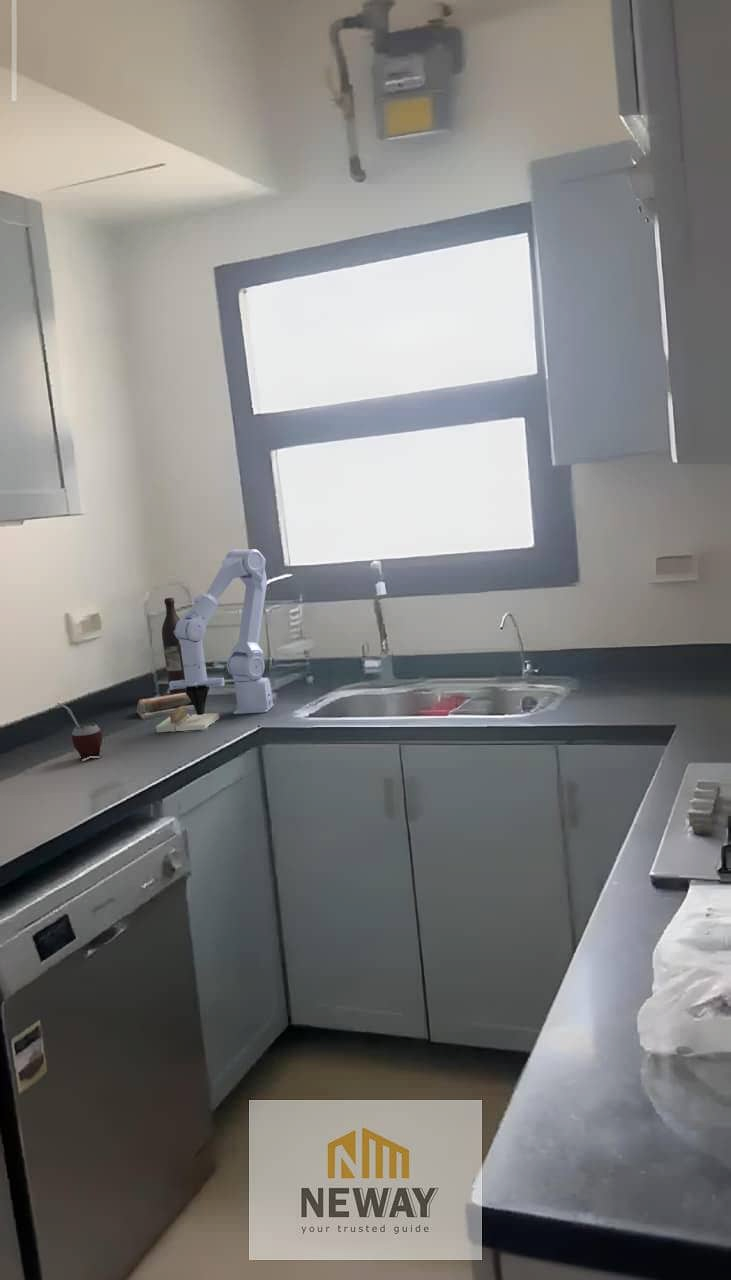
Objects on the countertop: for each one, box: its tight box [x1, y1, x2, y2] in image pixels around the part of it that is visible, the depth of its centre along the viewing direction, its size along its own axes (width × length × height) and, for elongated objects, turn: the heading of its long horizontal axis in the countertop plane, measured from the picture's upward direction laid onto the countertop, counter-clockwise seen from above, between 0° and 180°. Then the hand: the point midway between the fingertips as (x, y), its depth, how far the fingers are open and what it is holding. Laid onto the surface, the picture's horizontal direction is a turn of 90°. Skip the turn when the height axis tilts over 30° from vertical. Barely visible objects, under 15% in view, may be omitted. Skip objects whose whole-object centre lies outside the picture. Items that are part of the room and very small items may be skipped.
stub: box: [155, 706, 190, 733], centre depth 282 cm, size 5×12×4 cm, turn 170°
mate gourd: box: [56, 702, 103, 760], centre depth 257 cm, size 8×8×15 cm
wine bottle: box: [161, 597, 187, 695], centre depth 317 cm, size 7×7×30 cm
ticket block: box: [175, 712, 220, 732], centre depth 281 cm, size 8×12×2 cm, turn 170°
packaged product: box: [136, 693, 196, 720], centre depth 303 cm, size 18×5×10 cm
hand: (200, 714), depth 281 cm, fingers closed
